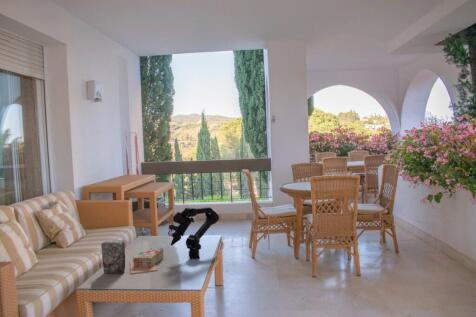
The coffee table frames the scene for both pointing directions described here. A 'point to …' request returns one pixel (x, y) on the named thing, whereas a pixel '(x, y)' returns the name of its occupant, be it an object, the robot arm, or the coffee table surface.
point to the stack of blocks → (148, 258)
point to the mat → (141, 268)
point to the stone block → (113, 256)
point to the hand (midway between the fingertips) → (171, 245)
